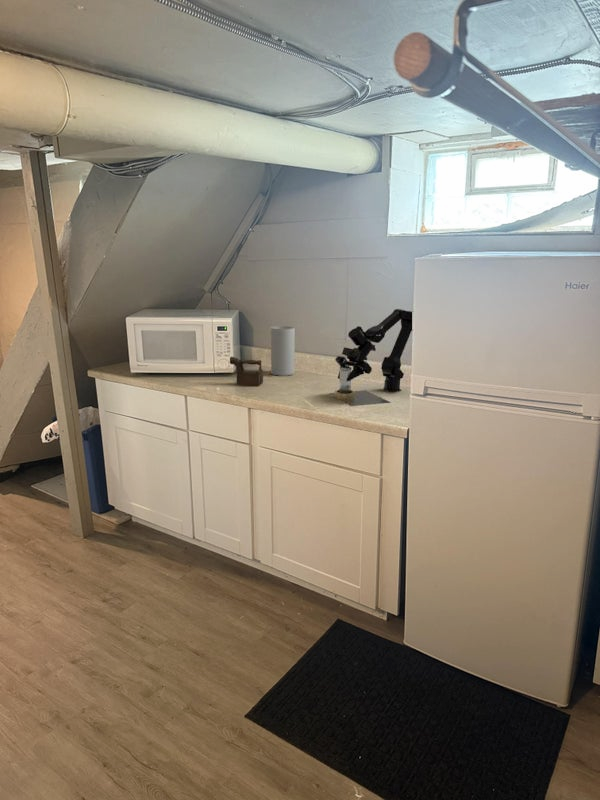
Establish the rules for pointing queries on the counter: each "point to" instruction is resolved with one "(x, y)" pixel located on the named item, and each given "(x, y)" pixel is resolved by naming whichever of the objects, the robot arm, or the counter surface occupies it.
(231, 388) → the counter surface
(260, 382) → the clothes iron
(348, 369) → the grey cylindrical piece
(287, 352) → the cylinder vase
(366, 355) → the robot arm
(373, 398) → the base
